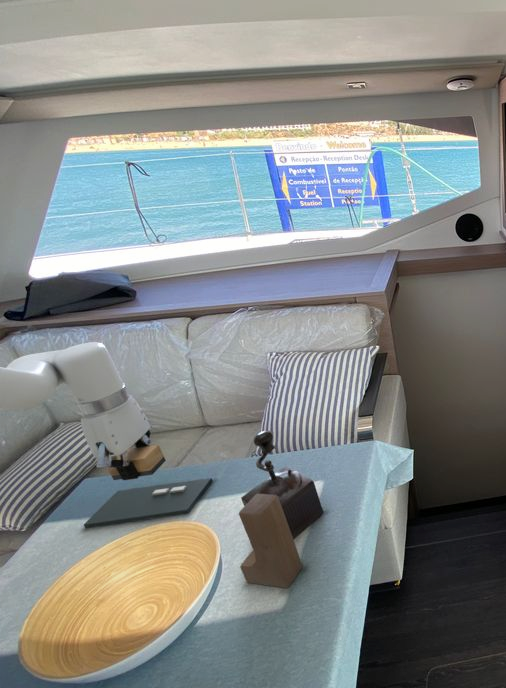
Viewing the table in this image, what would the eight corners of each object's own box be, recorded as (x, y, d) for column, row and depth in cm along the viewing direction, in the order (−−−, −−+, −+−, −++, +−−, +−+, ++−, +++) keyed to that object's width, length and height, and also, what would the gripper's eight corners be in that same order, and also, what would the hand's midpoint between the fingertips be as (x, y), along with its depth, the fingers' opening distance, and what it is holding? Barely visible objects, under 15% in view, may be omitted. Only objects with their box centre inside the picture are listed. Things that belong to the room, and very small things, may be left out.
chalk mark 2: (170, 493, 99) (169, 491, 99) (173, 489, 101) (172, 487, 100) (183, 491, 100) (182, 489, 99) (186, 487, 101) (185, 485, 101)
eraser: (113, 480, 90) (104, 464, 88) (129, 465, 94) (120, 449, 93) (152, 474, 91) (144, 458, 89) (166, 460, 95) (158, 444, 93)
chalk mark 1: (152, 495, 99) (151, 493, 99) (156, 491, 100) (155, 489, 100) (166, 493, 99) (165, 491, 99) (169, 490, 100) (168, 488, 100)
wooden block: (246, 583, 77) (214, 510, 71) (263, 561, 81) (235, 490, 75) (288, 589, 76) (259, 515, 69) (303, 566, 80) (278, 494, 73)
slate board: (85, 528, 93) (83, 524, 92) (119, 493, 102) (117, 490, 102) (188, 513, 94) (186, 509, 94) (213, 480, 104) (211, 477, 103)
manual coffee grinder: (327, 510, 92) (308, 444, 86) (280, 550, 83) (254, 481, 77) (286, 486, 100) (265, 425, 94) (239, 521, 91) (213, 455, 85)
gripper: (116, 381, 93) (149, 446, 100) (47, 428, 78) (90, 502, 84) (151, 377, 94) (181, 442, 100) (90, 423, 78) (130, 496, 85)
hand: (139, 469), depth 92 cm, fingers closed on eraser, 4 cm apart
